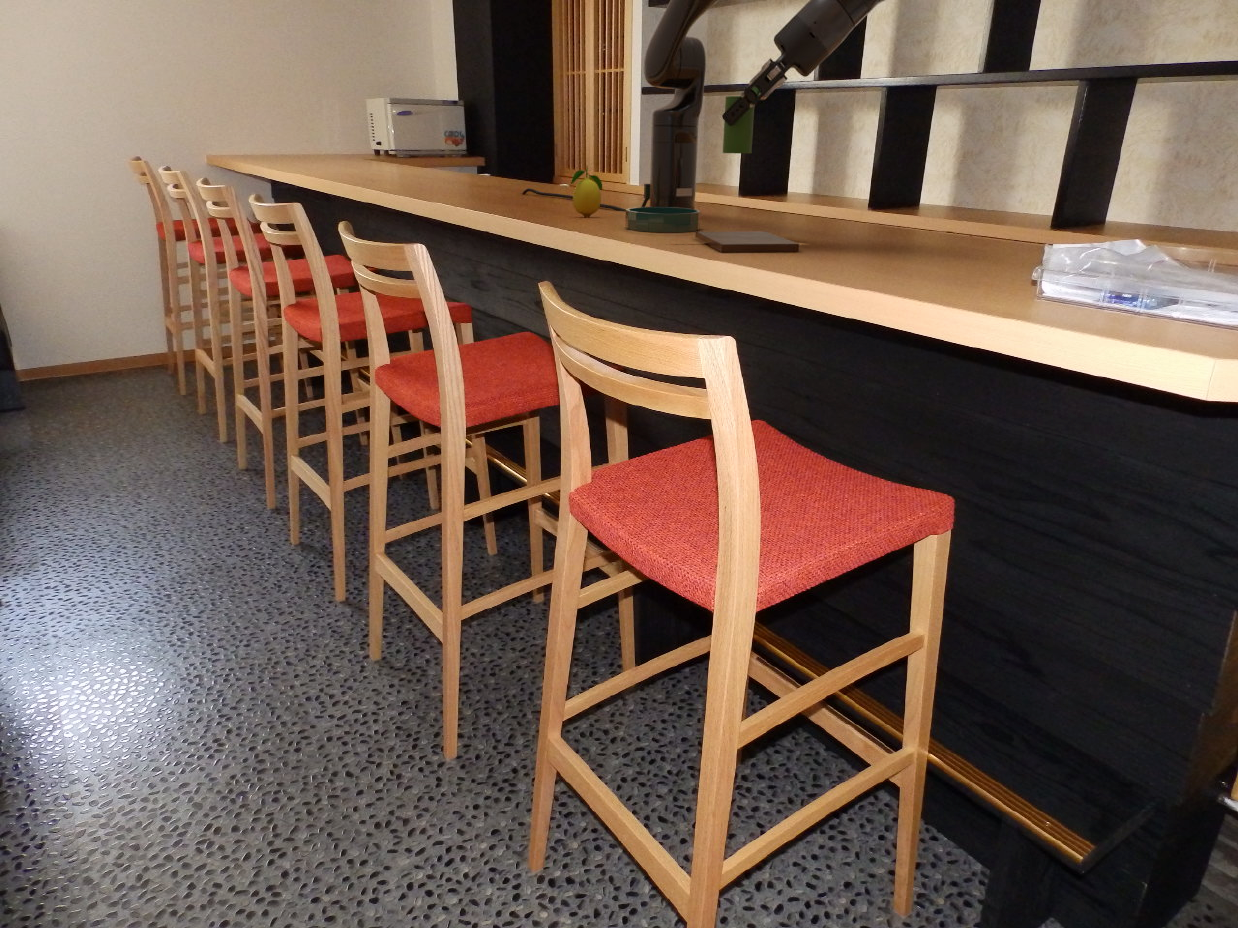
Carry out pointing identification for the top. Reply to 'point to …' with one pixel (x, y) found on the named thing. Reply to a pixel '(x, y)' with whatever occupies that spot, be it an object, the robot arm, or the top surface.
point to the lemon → (587, 193)
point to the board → (747, 241)
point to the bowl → (663, 219)
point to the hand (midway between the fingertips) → (726, 121)
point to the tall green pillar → (738, 131)
